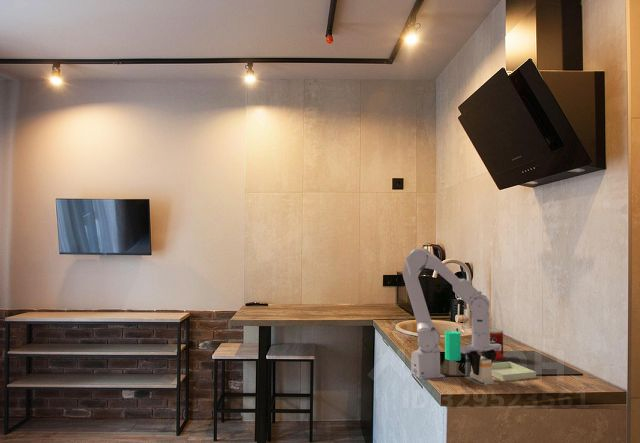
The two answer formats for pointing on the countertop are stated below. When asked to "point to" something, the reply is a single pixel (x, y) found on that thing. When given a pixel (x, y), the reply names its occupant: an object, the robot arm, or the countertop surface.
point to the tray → (511, 371)
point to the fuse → (483, 370)
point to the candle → (452, 345)
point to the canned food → (497, 341)
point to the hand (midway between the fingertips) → (481, 373)
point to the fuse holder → (486, 382)
